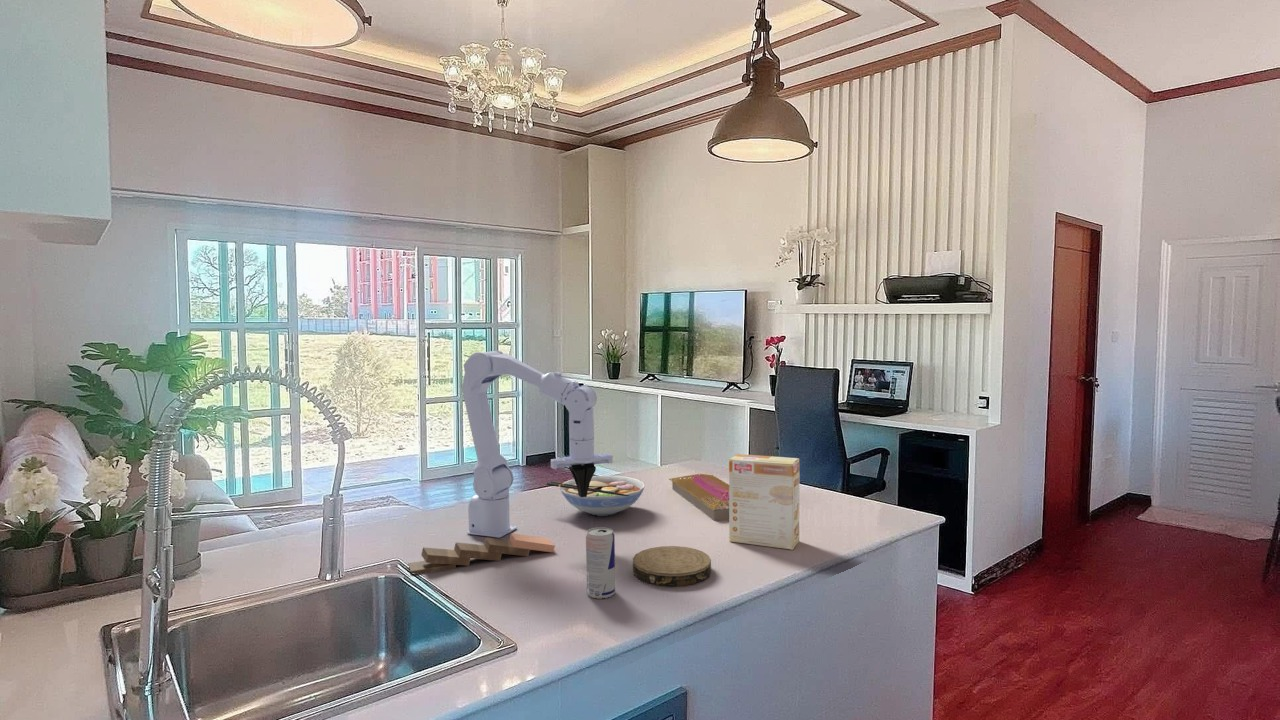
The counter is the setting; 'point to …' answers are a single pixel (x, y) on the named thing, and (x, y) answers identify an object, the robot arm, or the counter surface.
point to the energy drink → (600, 562)
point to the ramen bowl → (603, 494)
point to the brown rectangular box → (704, 494)
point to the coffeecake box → (764, 500)
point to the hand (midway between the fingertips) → (582, 496)
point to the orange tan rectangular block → (531, 542)
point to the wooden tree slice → (672, 566)
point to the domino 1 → (428, 567)
